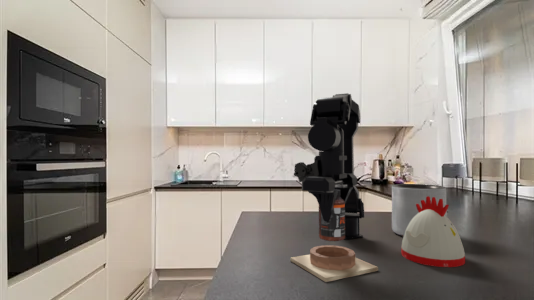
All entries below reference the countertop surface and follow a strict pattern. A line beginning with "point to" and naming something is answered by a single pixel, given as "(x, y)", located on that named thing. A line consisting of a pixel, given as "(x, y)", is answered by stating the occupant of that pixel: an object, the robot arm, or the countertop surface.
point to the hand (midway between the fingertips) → (331, 219)
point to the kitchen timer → (432, 237)
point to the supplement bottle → (333, 222)
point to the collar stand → (333, 263)
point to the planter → (411, 202)
